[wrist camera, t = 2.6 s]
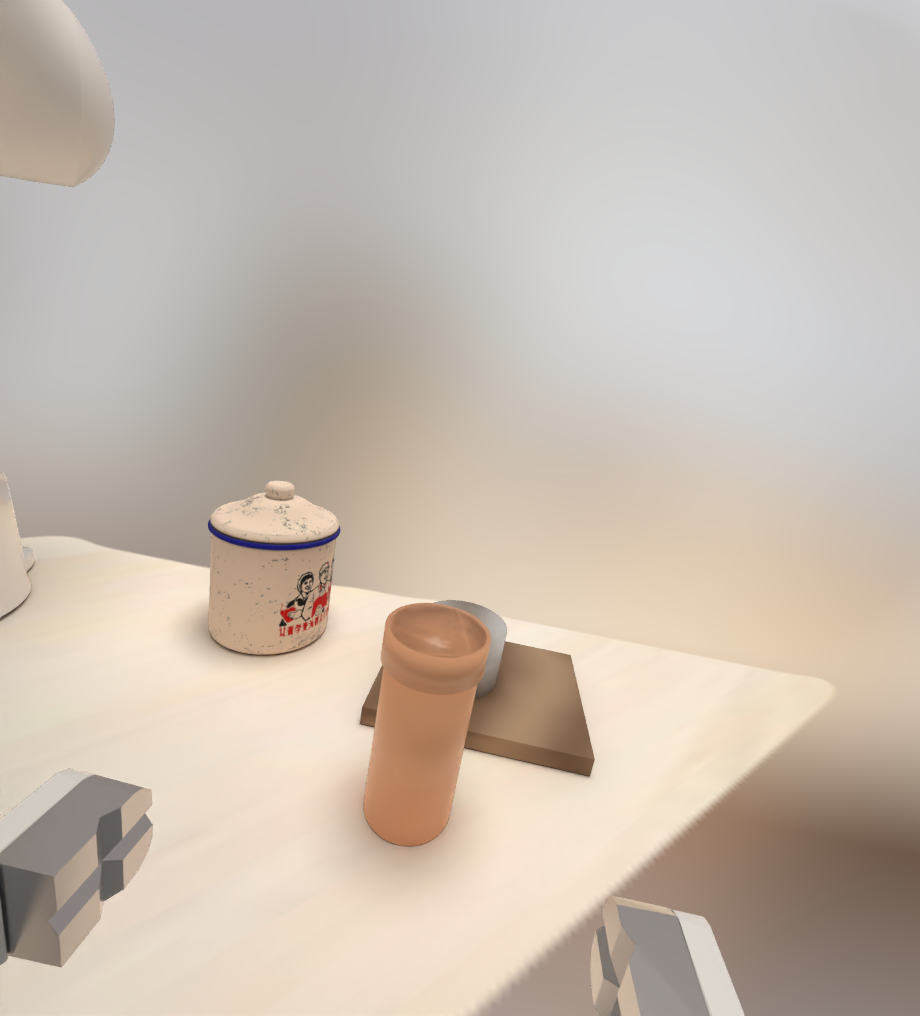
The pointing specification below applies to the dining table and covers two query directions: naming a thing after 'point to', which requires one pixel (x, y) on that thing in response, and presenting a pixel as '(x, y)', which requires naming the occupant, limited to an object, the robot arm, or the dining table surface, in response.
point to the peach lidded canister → (422, 719)
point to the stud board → (520, 703)
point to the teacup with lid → (270, 571)
